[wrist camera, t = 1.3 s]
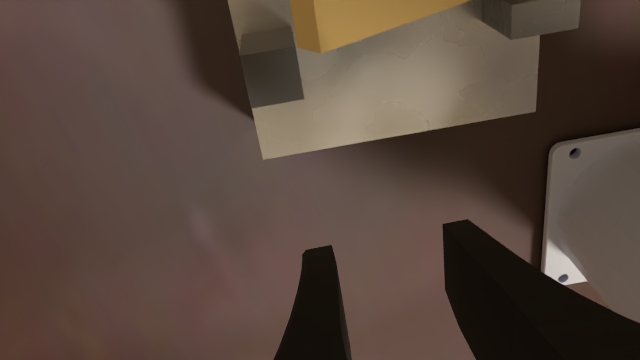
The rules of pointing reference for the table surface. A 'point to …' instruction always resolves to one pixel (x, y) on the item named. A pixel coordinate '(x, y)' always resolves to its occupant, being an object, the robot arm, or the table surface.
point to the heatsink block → (408, 73)
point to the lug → (271, 67)
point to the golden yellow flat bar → (355, 19)
